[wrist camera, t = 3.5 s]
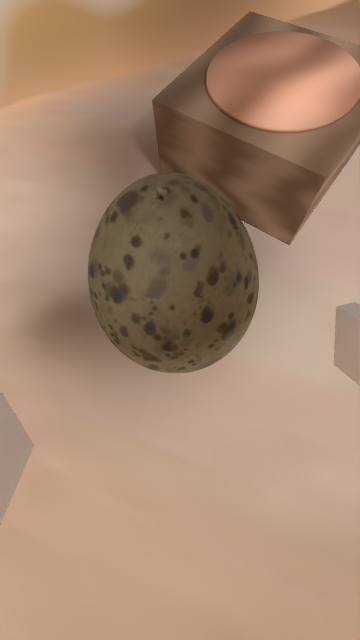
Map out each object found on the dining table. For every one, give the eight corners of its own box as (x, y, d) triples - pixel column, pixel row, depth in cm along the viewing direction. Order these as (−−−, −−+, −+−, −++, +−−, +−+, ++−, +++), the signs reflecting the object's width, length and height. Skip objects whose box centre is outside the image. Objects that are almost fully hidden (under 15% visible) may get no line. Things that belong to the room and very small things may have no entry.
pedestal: (357, 147, 31) (413, 55, 23) (289, 244, 27) (328, 172, 19) (237, 99, 35) (250, 5, 27) (162, 177, 31) (151, 94, 23)
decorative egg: (212, 257, 27) (234, 79, 13) (259, 358, 23) (362, 263, 9) (108, 292, 26) (9, 143, 12) (140, 402, 22) (51, 373, 8)
